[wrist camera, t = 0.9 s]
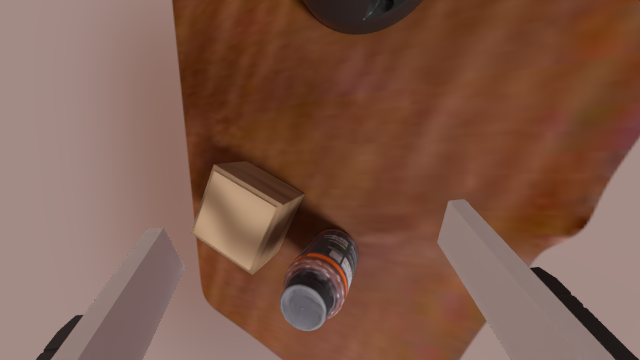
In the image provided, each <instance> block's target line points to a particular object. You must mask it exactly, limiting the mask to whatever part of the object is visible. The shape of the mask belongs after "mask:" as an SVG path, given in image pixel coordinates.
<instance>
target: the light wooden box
mask: <svg viewBox="0 0 640 360" xmlns="http://www.w3.org/2000/svg"><path fill="white" fill-rule="evenodd" d="M304 195H305V194H304V193H302V192H301V191H299V190H297V189H295V188H293V187H292V186H290V185H288V184H286V183H285V182H283V181H281V180H279V179H277V178H276V177H274V176H272V175H270V174H269V173H267V172H265V171H263V170H261V169H260V168H258V167H256V166H254V165H253V164H251V163H249V162H247V161H241V162H232V163H222V164H214V166H213V169H212V172H211V174H210V177H209V180H208V183H207V186H206V189H205V192H204V195H203V198H202V201H201V204H200V207H199V210H198V213H197V216H196V219H195V222H194V225H193V227H192V230H191V234H193V235H194V236H196V237H197V238H199V239H200V240H202V241H203V242H205V243H206V244H207V245H209V246H210V247H212V248H213V249H215V250H216V251H218V252H219V253H221V254H222V255H224V256H225V257H227V258H228V259H230V260H231V261H233V262H234V263H235V264H237V265H238V266H240V267H241V268H243V269H244V270H246V271H247V272H249V273H250V274H252V275H253V274H254V273H255V272H256V271H258V270H259V269H260V268H261V267H262V266H263V265H264V264H266V263H267V262H268V261H269V260H270V259H271V258H272V257H273V256H275V255H276V254H277V253H278V251H279V249H280V247H281V245H282V242H283V240H284V238H285V236H286V234H287V232H288V229H289V227H290V225H291V223H292V221H293V219H294V216H295V214H296V212H297V210H298V208H299V205H300V203H301V201H302V199H303V197H304Z"/></svg>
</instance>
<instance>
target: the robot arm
mask: <svg viewBox="0 0 640 360" xmlns="http://www.w3.org/2000/svg"><path fill="white" fill-rule="evenodd" d="M303 1H304V3H305V4H306V6H307V7H308V9H309V10H310V12H311V13H312V14H313V15H314V17H315V18H316V19H317V20H318V21H320V22H321V23H322V24H324V25H325V26H327V27H329V28H330V29H333V30H335V31H338V32H341V33H346V34H367V33H372V32H376V31H379V30H382V29H385V28H387V27H389V26H391V25H393V24H395V23H397V22H398V21H400V20H401V19H403V18H404V17H406V16H407V15H408V14H409V13H411V12H412V11H413V10H414V9H415V8H416V7H417V6H418V5H419V4H420V3H421V2H422V1H423V0H303ZM437 243H438V245H439V246H440V248H441V249H442V251H443V252H444V254H445V256H446V257H447V259H448V260H449V262H450V264H451V265H452V267H453V268H454V270H455V271H456V273H457V275H458V276H459V278H460V279H461V281H462V283H463V284H464V286H465V287H466V289H467V290H468V292H469V294H470V295H471V297H472V298H473V300H474V302H475V303H476V305H477V306H478V308H479V309H480V311H481V313H482V314H483V316H484V317H485V319H486V321H487V322H488V324H489V325H490V327H491V328H492V330H493V332H494V333H495V334H496V336H497V338H498V339H499V341H500V343H501V344H502V346H503V347H504V349H505V350H506V352H507V354H508V355H509V357H510V358H511V360H639V359H638V358H637V357H635V356H634V355H633V354H632V353H631V352H630V351H629V350H628V349H627V348H626V347H625V346H624V345H623V344H622V343H621V342H620V341H619V340H618V339H617V338H616V337H615V336H614V335H613V334H612V333H611V332H610V331H609V330H608V329H607V328H606V327H605V326H604V325H603V324H602V323H601V322H600V321H599V320H598V319H597V318H596V317H595V316H594V315H593V314H592V313H591V312H590V311H589V310H588V309H587V308H584V307H583V304H582V303H581V302H580V301H579V300H578V299H577V298H576V297H575V296H572V295H571V292H570V291H569V290H568V289H567V288H565V286H564V285H563V284H562V283H561V282H560V281H558V280H557V278H555V277H553V276H552V275H550V274H549V273H547V272H546V271H544V270H543V269H541V268H540V267H535V268H529V267H528V266H527V265H526V264H525V263H524V262H523V261H522V260H521V259H520V258H519V257H518V256H517V254H516V253H515V252H514V251H513V250H512V249H511V248H510V247H509V246H508V245H507V244H506V243H505V242H504V241H503V240H502V239H501V237H500V236H499V235H498V234H497V233H496V232H495V231H494V230H493V229H492V228H491V227H490V226H489V225H488V224H487V223H486V221H485V220H484V219H483V218H482V217H481V216H480V215H479V214H478V213H477V212H476V211H475V210H474V209H473V208H472V207H471V206H470V204H469V203H468V202H467V201H466V200H465V199H463V200H452V201H448V205H447V209H446V212H445V216H444V220H443V223H442V227H441V231H440V234H439V238H438V242H437ZM184 269H185V266H184V264H183V262H182V261H181V259H180V257H179V255H178V253H177V252H176V249H175V247H174V246H173V244H172V242H171V240H170V238H169V236H168V234H167V233H166V231H165V229H164V228H154V229H147V230H146V231H145V232H144V234H143V235H142V236H141V238H140V239H139V240H138V242H137V243H136V245H135V246H134V247H133V249H132V250H131V251H130V253H129V254H128V255H127V257H126V258H125V259H124V261H123V262H122V263H121V265H120V266H119V268H118V269H117V270H116V272H115V273H114V274H113V276H112V277H111V278H110V280H109V281H108V283H107V284H106V285H105V287H104V288H103V289H102V291H101V292H100V293H99V295H98V296H97V298H96V299H95V300H94V302H93V303H92V304H91V306H90V307H89V308H88V310H87V311H86V313H85V314H84V315H77V316H75V317H74V318H73V319H71V320H70V321H69V322H68V323H67V324H66V325H65V326H64V327H62V328H61V329H60V330H59V331H58V332H57V333H56V335H55V336H54V337H53V338H52V340H51V341H50V342H49V344H48V345H47V346H46V348H45V349H44V352H43V353H41V354H40V355H39V356H38V358H37V359H36V360H143V358H144V356H145V353H146V351H147V349H148V347H149V345H150V343H151V340H152V338H153V336H154V334H155V332H156V330H157V327H158V325H159V323H160V321H161V318H162V317H163V314H164V312H165V310H166V308H167V306H168V304H169V301H170V299H171V297H172V295H173V293H174V291H175V289H176V286H177V284H178V282H179V280H180V277H181V276H182V273H183V271H184Z"/></svg>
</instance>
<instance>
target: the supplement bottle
mask: <svg viewBox="0 0 640 360" xmlns="http://www.w3.org/2000/svg"><path fill="white" fill-rule="evenodd" d="M357 262H358V249H357V246H356V243H355V242H354V240H353V239H352V238H351V237H350V236H349V235H348V234H346V233H345V232H343V231H340V230H337V229H328V230H324V231H322V232H320V233H319V234H318V235H316V236H315V237H314V239H313V240H312V241H311V242H310V243H309V244H308V245H307V247H306V248H305V249H304V250H303V251H302V252H301V253H300V255H299V256H298V257H297V258H296V259H295V260H294V262H293V263H292V264H291V265H290V266H289V268H288V270H287V271H286V274H285V277H284V292H283V293H282V295H281V299H280V307H281V311H282V314H283V316H284V317H285V319H286V320H287V321H288V322H289V323H290V324H291V325H292V326H294V327H295V328H297V329H300V330H303V331H312V330H315V329H318V328H319V327H320V326H321V325H322V324H323V323H324V321H325V320H326V319H329V318H331V317H333V316H334V315H335V314H337V313H338V312H339V310H340V309H341V307H342V306H343V304H344V301H345V299H346V296H347V293H348V290H349V287H350V284H351V281H352V278H353V275H354V272H355V269H356V266H357Z"/></svg>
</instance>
